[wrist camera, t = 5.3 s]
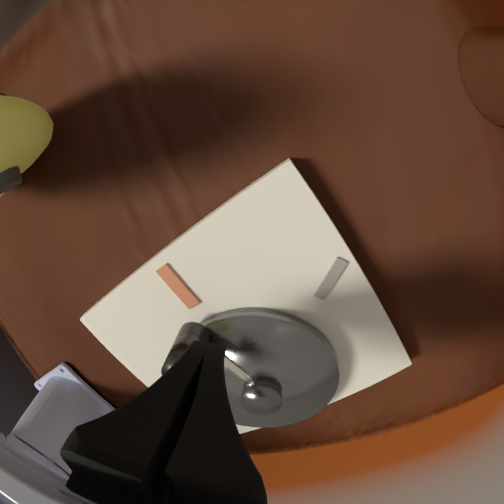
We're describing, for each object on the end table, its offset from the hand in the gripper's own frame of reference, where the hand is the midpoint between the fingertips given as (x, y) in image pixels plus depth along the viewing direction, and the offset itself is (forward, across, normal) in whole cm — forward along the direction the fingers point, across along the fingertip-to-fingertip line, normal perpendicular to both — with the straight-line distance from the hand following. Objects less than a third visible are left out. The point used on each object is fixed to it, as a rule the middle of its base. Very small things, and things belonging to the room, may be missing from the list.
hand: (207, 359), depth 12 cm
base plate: (+5, -1, +3) cm, 6 cm away
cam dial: (+4, -3, +5) cm, 7 cm away
